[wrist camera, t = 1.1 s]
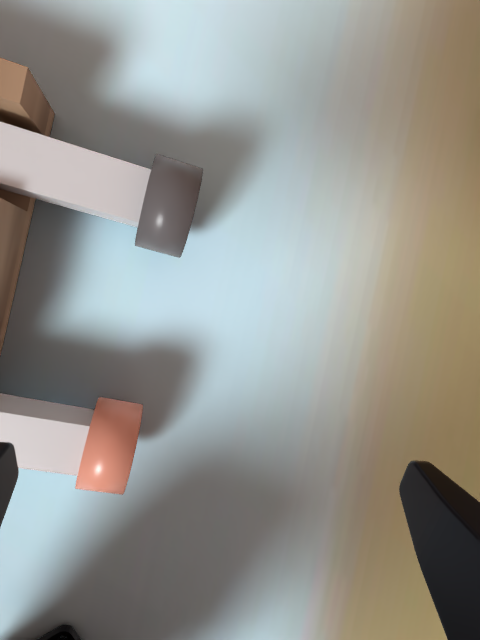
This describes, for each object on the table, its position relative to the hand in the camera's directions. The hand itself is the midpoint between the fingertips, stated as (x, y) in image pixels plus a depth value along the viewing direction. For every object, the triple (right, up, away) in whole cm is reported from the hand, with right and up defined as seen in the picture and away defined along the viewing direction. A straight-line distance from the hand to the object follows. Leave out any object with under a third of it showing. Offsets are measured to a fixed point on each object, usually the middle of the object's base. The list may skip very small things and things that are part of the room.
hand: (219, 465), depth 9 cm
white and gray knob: (-6, +9, +10) cm, 15 cm away
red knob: (-9, -1, +11) cm, 14 cm away
